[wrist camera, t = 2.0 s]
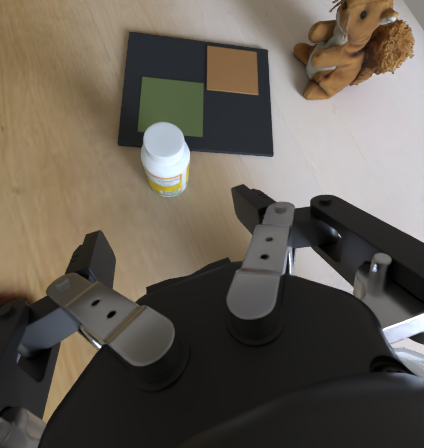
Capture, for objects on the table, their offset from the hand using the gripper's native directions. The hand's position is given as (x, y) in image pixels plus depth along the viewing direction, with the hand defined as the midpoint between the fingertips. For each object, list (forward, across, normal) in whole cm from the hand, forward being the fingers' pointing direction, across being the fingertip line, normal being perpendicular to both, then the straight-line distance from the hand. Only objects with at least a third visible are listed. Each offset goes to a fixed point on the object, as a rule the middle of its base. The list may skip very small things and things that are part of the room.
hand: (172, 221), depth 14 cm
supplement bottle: (+19, -1, +4) cm, 19 cm away
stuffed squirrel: (+26, -32, -3) cm, 42 cm away
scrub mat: (+27, -10, -5) cm, 29 cm away
